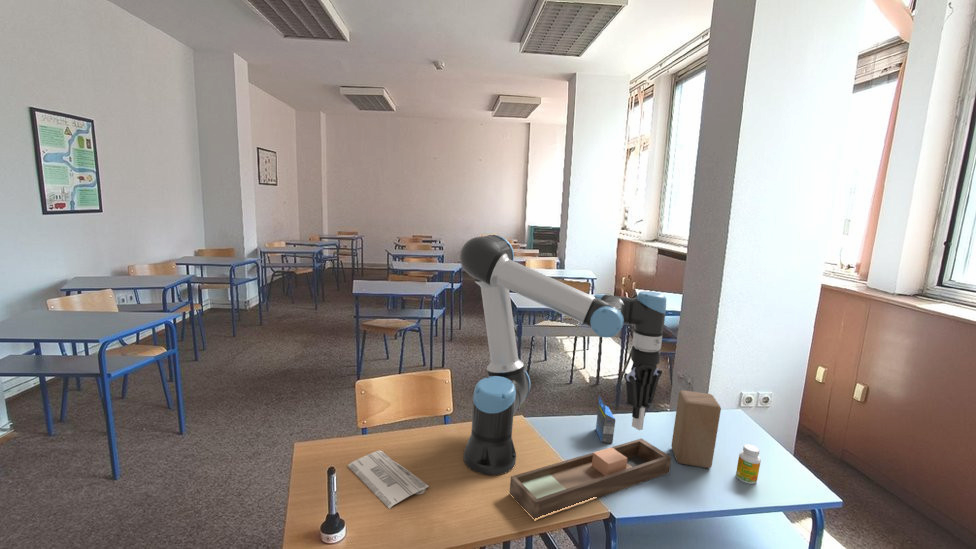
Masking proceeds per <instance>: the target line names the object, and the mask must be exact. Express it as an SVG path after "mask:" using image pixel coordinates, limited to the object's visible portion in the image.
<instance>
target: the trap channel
mask: <svg viewBox="0 0 976 549" xmlns="http://www.w3.org/2000/svg"><path fill="white" fill-rule="evenodd" d="M611 447H612V448H614V449H615V450H616V451H618V452H619V453H621V454H622V455H624V456H625V457H627V465H626V469H625V470H622V471H619V472H616V473H613V474H610V475H607V476H604V475H603V474H602V473H601V472H599V471H598V470H597V469H595V468H594V467H593V466H592V459H593V452H591V453H587V454H583V455H579V456H576V457H573V458H570V459H567V460H563V461H559V462H556V463H553V464H549V465H547V466H542V467H539V468H535V469H531V470H529V471H525V472H522V473H517V474H514V475H512V476H510V483H509V484H510V485H509V493H510V494H511V495H512V496H513V497H514V499H515V500H516V501H517V502H518V503H519V504H520V505H521V506H522V507H523V508H524V509H525V510H526V511H527V512H528V513H529V514H530V515H531V516H532V517H533V518H534V519H535V518H538V517H540V516H542V515H546V514H548V513H551V512H553V511H557V510H560V509H562V508H565V507H568V506H571V505H574V504H576V503H579V502H582V501H585V500H588V499H590V498H593V497H597V498H598V499H600V498H603V497H606V496H609V495H612V494H613V493H614V494H615V493H616V492H619V491H622V490H626V489H628V488H630V487H633V486H636V485H637V486H638V485H639V484H641V483H645V482H647V481H649V480H650V481H651V480H653V479H655V478H659V477H662V476H664V475H666V474H670V470H671V463H672V462H671V461H672V456H671V455H669V454H668V453H666V452H664V451H663V450H662V449H660V448H659V447H656V446H654V445H653V444H651V443H650V442H649V441H647V440H644V438H642V437H641V438H638V439H635V440H631V441H628V442H625V443H621V444H618V445H614V446H611ZM510 494H509V495H510ZM511 495H510V496H511ZM512 496H511V497H512ZM514 499H513V500H514ZM515 500H514V501H515ZM516 501H515V502H516ZM517 502H516V503H517ZM518 503H517V504H518ZM519 504H518V505H519ZM520 505H519V506H520ZM521 506H520V507H521ZM522 507H521V508H522Z"/></svg>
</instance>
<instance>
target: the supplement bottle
mask: <svg viewBox="0 0 976 549" xmlns="http://www.w3.org/2000/svg"><path fill="white" fill-rule="evenodd" d="M759 455H760V448H758V447H757V446H756V445H753V444H749V443H748V444H747V443H746V444H743V448H742V450H741V451H740V452H739V455H738V460H737V465H736V466H737V467H736V472H735V477H736V478H737V479H738V480H739V481H741V482H743V483H744V484H748V485H749V484H750V485H754V484H757V481H758V478H759V472H760V467H761V461H762V459H761V457H760V456H759Z"/></svg>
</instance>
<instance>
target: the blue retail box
mask: <svg viewBox="0 0 976 549" xmlns="http://www.w3.org/2000/svg"><path fill="white" fill-rule="evenodd" d="M596 415H597V416H596V424H595V430H596V433H597V435H598V438H599V440H600V442H601V443H605V444H613V442H614V432H615V427H616V426H615V425H616V418H615V416H614V414H613V413H612V411H611V409H610V407H609V406H607V405H605V403H604V401H603V400H602V398H601V395H599V396H598V407H597V414H596Z"/></svg>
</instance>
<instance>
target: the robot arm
mask: <svg viewBox="0 0 976 549" xmlns="http://www.w3.org/2000/svg"><path fill="white" fill-rule="evenodd" d="M514 251H515V250H514V248H513V245H512V244H511V243H510V242H509V240H508V239H506V238H505V237H503V236H501V235H496V234H489V235H483V236H476V237H473V238H471V239H469V240H467V241H466V242H465V243H464V245H462V247H461V250H460V253H459V260H460V264H461V267H462V269H463V271H465V273H467V274H468V275H469V276H470V277H472V278H473V279H474V283H476V284H477V285H478V286H479V287H480V291H481V298H482V305H483V312H484V321H485V322H484V323H485V329H486V336H487V343H488V344H487V345H488V350H489V357H490V363H489V364H488V365H487V366H486V373H487V377H483V378H482V379H479V381H478V382H477V383H476V385H475V387H474V391H473V396H472V400H473V402H472V418H471V420H472V421H471V433H470V436H469V438H468V440H467V443H466V446H465V448H464V449H463V462H464V464H465V465H466V467H468V469H470V470H472V471H473V472H474V473H478V474H481V475H485V476H486V475H488V476H499V475H498V474H500V475H503V474H502V473H504V474H506V473H505V472H507V473H509V472H510V471H511V470H510V469H512V468H513V467H514V468H515V466H516V461H517V452H516V449H515V445H514V441H513V436H512V435H513V426H514V416H515V414H516V412H517V411H518V410H519V408H520V407H521V405H522V404H523V403H524V402H525V400H526V399H527V397H528V395H529V393H530V390H531V378H530V375H529V374H528V372H527V371H526V370H525V364H524V362H523V361H522V360H521V359H520V358H519V354H518V349H517V348H518V346H517V339H516V333H515V331H516V330H515V322H514V317H513V309H512V300H511V294H510V291H511V292H514V293H516V294H518V295H520V296H522V297H524V298H526V299H528V300H531V301H533V302H535V303H537V304H539V305H542V306H544V307H546V308H548V309H550V310H553V311H555V312H557V313H559V314H561V315H564V316H566V317H568V318H570V319H573V320H575V321H577V322H579V323H580V324H583V325H585V326H587V327H590V328H591V329H592V331H593V332H594V334H596V335H597V336H599V337H602V338H604V339H605V338H612V337H614V336H616V335H618V333H619V332H620V331H621V330H622V328H623V327H624V325H627V326H634V328H633V334H632V343H631V344H632V347H631V355H630V358H631V362H632V366H631V369H630V370H631V371H630V372H628V373H627V372H626V373H624V375H623V378H624V380H625V384H626V385H625V386H626V398H627V404H628V405H629V406H631V407H632V412H631V416H632V417H631V418H632V419H631V427H633V428H635V430H638V431H643V429H644V421H645V416H646V411H647V409H649V408H650V407H651V405H650V404H653V401H654V397H655V394H656V390H657V387H658V384H659V380H660V377H661V375H662V374H663V371H662V370H661V369H659V368H657V366H658V365H659V364H660V360H661V349H662V344H663V343H662V341H663V334H664V327H665V319H666V311H667V310H666V309H667V297H666V296H665V295H664V294H663V293H660V292H657V291H656V292H655V291H640V292H639V291H638V294H637V296H636V297H628V296H627V297H626V296H618V295H611V294H605V293H604V294H598V293H597V294H594V295H591V294H589V293H586V292H585V291H582V290H580V289H577V288H576V287H573V286H571V285H568V284H566V283H564V282H561V281H559V280H557V279H555V278H552V277H551V276H548V275H546V274H543V273H542V272H539V271H537V270H535V269H533V268H530V267H528V266H525V265H523V264H521V263H519V262H516V261H515V260H514V258H515V252H514ZM514 465H515V466H514ZM514 468H513V469H514ZM513 469H512V470H513ZM509 470H510V471H509ZM508 471H509V472H508Z"/></svg>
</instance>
